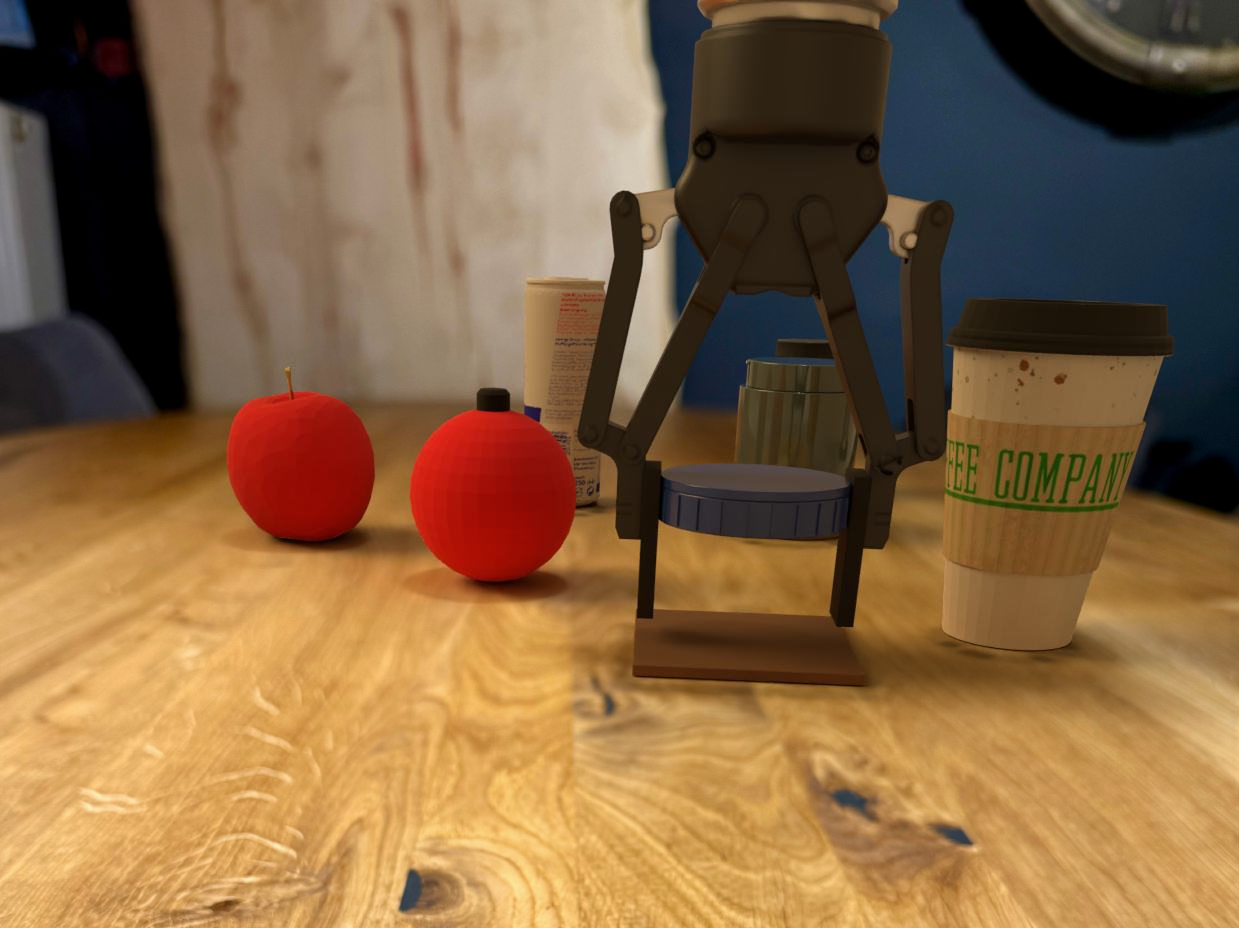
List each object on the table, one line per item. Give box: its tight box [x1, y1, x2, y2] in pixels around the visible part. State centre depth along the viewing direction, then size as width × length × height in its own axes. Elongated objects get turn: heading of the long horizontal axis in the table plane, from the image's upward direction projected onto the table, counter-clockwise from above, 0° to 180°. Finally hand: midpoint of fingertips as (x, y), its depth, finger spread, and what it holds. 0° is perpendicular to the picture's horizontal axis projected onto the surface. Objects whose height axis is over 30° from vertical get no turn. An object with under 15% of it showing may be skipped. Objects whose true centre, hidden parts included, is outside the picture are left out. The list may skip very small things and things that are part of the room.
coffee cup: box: [941, 297, 1176, 651], centre depth 60 cm, size 10×10×15 cm
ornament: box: [409, 387, 577, 583], centre depth 68 cm, size 9×9×10 cm
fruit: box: [226, 366, 376, 543], centre depth 78 cm, size 9×9×10 cm
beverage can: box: [523, 276, 607, 507], centre depth 90 cm, size 6×6×15 cm
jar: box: [733, 356, 859, 541], centre depth 84 cm, size 8×8×11 cm
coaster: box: [631, 608, 866, 687], centre depth 59 cm, size 10×10×1 cm
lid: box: [659, 463, 852, 540], centre depth 56 cm, size 8×8×2 cm
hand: (742, 614), depth 58 cm, fingers closed on lid, 8 cm apart
